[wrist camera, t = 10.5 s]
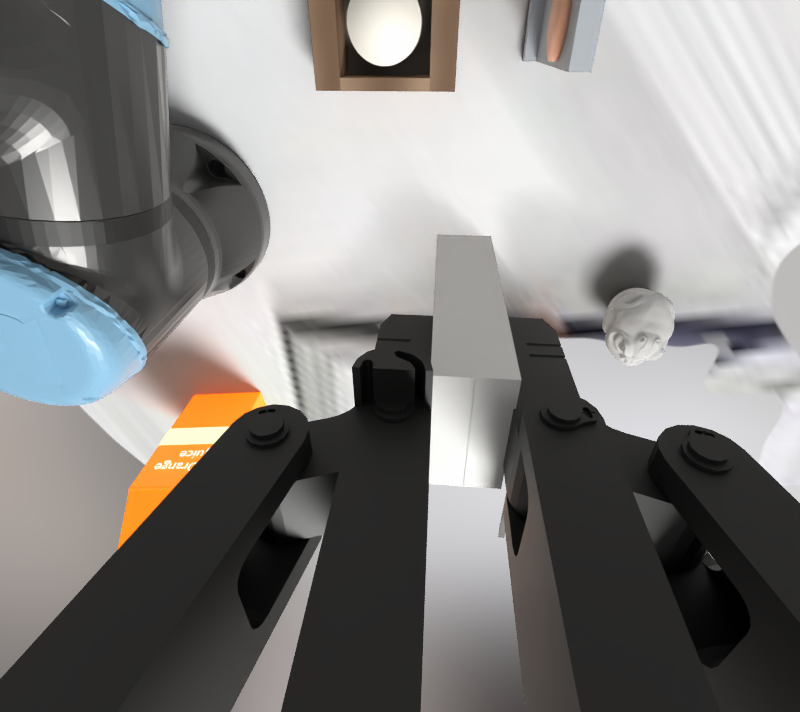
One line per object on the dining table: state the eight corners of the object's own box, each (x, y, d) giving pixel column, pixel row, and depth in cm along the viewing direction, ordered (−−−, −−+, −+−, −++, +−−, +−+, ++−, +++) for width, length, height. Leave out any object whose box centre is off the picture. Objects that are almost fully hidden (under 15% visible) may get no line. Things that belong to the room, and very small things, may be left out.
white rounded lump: (581, 328, 48) (599, 368, 42) (611, 265, 44) (636, 301, 38) (638, 339, 48) (664, 381, 42) (673, 278, 44) (707, 315, 38)
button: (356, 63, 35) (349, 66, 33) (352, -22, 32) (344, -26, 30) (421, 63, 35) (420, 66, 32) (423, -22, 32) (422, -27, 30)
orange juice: (193, 394, 57) (91, 538, 41) (260, 390, 56) (184, 538, 40) (215, 439, 62) (131, 586, 45) (278, 437, 60) (216, 587, 44)
